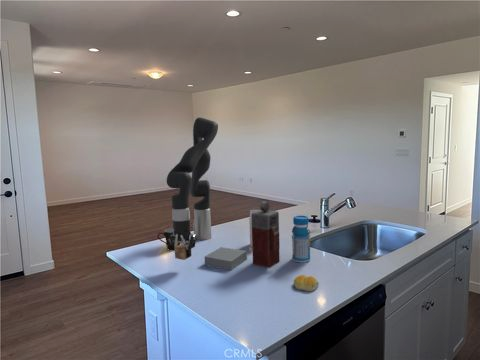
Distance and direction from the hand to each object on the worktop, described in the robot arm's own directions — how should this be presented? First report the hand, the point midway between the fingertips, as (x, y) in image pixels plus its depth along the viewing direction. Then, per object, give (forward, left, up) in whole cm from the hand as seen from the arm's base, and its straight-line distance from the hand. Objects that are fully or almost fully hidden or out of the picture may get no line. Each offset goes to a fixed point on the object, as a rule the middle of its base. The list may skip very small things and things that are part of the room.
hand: (183, 255), depth 143 cm
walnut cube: (0, 0, -1) cm, 1 cm away
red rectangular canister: (+30, +22, -6) cm, 38 cm away
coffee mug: (-25, +20, -6) cm, 32 cm away
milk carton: (+15, +42, -6) cm, 45 cm away
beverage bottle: (+42, +32, -6) cm, 54 cm away
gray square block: (+12, +15, -6) cm, 20 cm away
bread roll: (+53, +7, -7) cm, 54 cm away
